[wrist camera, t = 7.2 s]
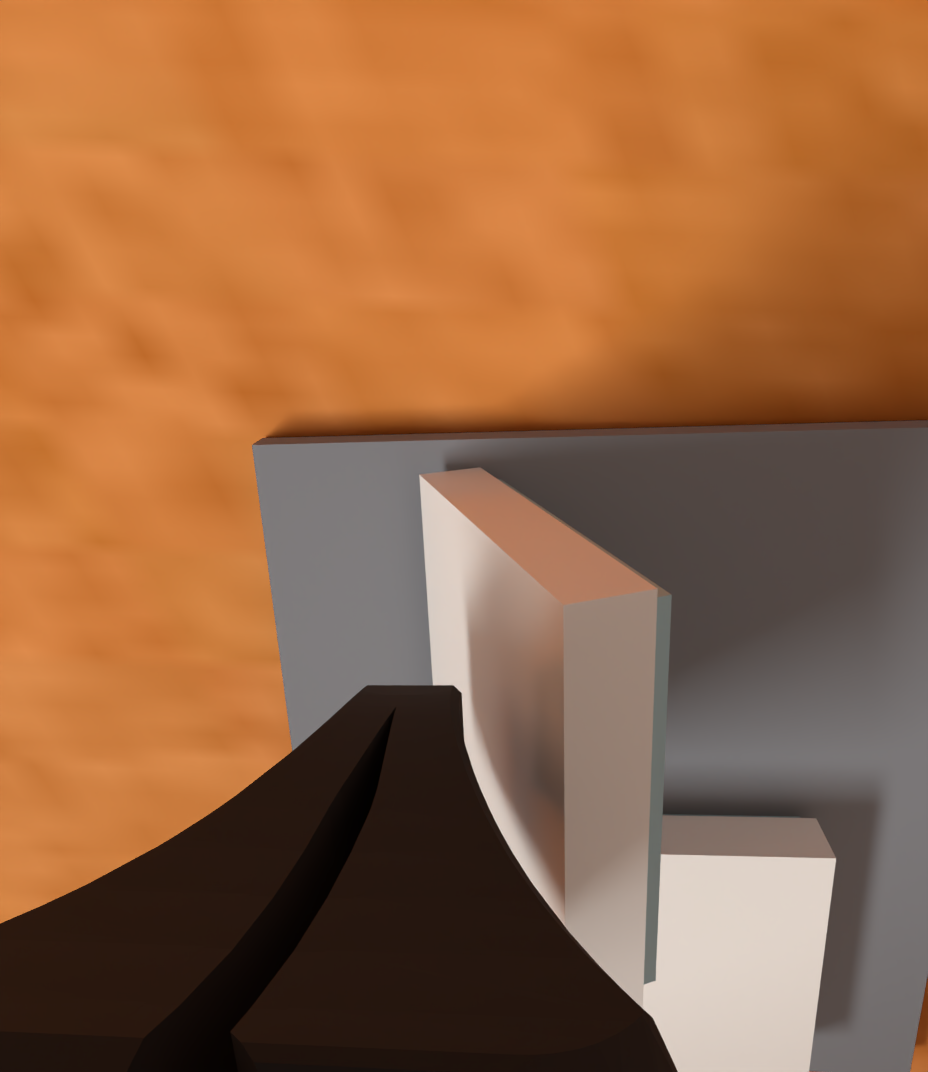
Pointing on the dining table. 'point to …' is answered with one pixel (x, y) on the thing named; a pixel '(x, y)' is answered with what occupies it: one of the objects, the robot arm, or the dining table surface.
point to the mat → (684, 637)
